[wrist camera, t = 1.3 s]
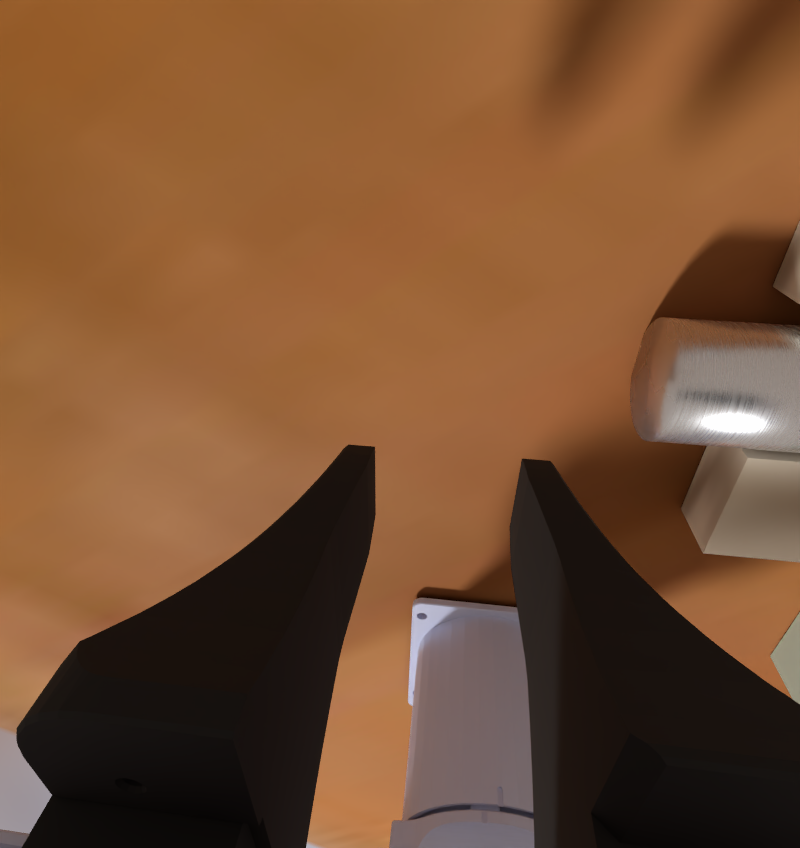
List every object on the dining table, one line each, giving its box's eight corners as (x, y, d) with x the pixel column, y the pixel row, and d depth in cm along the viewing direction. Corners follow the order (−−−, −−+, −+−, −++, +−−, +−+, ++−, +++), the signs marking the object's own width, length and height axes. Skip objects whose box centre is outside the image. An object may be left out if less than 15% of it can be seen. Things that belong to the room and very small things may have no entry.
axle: (876, 411, 19) (951, 491, 16) (622, 392, 20) (648, 466, 17) (950, 312, 17) (1056, 385, 14) (656, 295, 17) (694, 361, 14)
